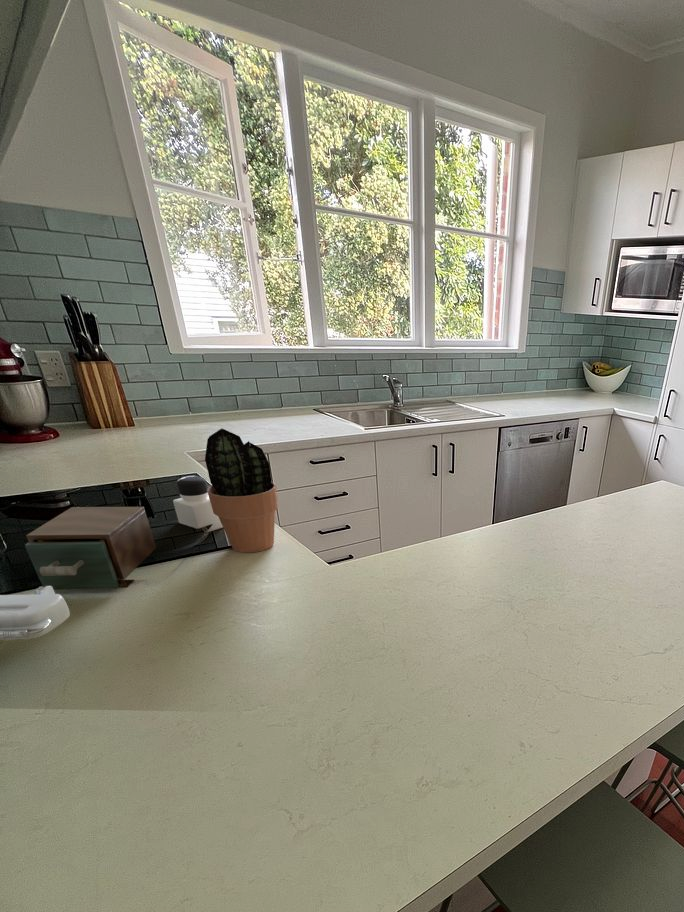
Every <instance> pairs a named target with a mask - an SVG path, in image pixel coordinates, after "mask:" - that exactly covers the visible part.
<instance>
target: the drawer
mask: <svg viewBox="0 0 684 912" xmlns="http://www.w3.org/2000/svg"><path fill="white" fill-rule="evenodd" d="M24 547H25V549H26V551H27V554H28V556H29V559H30V561H31V563H32V565H33V567H34V570H35V572H36V574H37V577H38V579H39V581H40V583H41V586H52V587H53V590H54V591H62V590H63V591H65V590H68V591H69V590H71V591H72V590H113V589H114V590H115V589H119V588H118V587H119V586H120V585H119V583H118V581H119V580H120V579H119V576H118V573H117V570H116V567H115V564H114V562H113V559H112V556H111V553H110V550H109V547H108V544H107V542H106V539H39V540H38V542H29V541H28V542H27V543H25V544H24Z"/></svg>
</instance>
